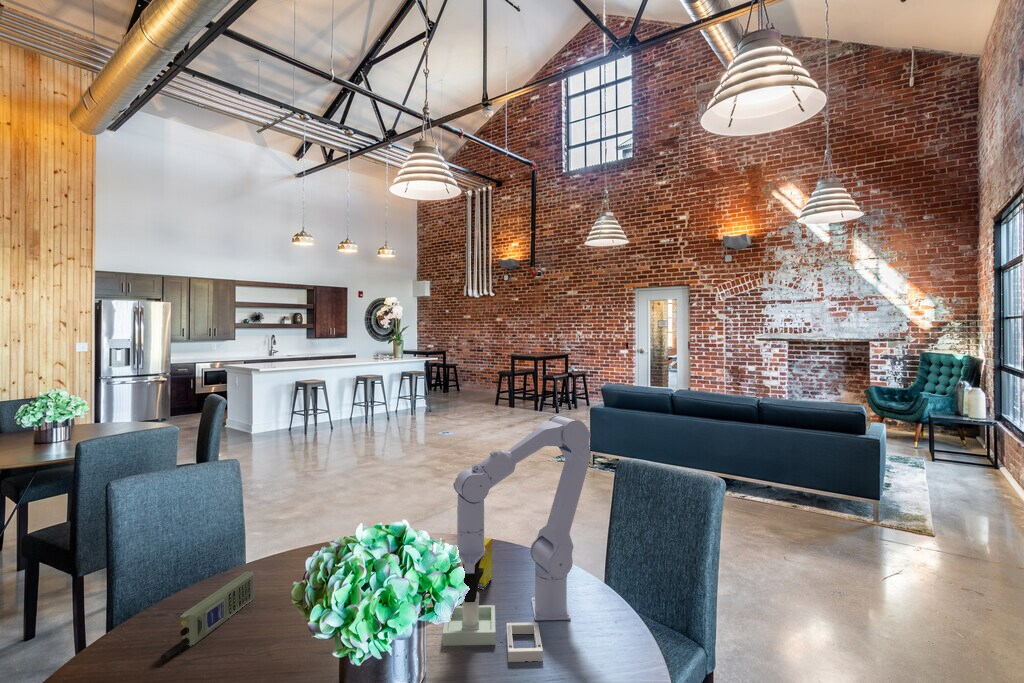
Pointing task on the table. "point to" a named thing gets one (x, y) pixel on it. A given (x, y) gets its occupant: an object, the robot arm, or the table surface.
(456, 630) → the parts tray
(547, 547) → the robot arm
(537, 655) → the holder
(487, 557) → the supplement box
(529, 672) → the table surface
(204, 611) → the handheld radio
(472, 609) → the cylinder
